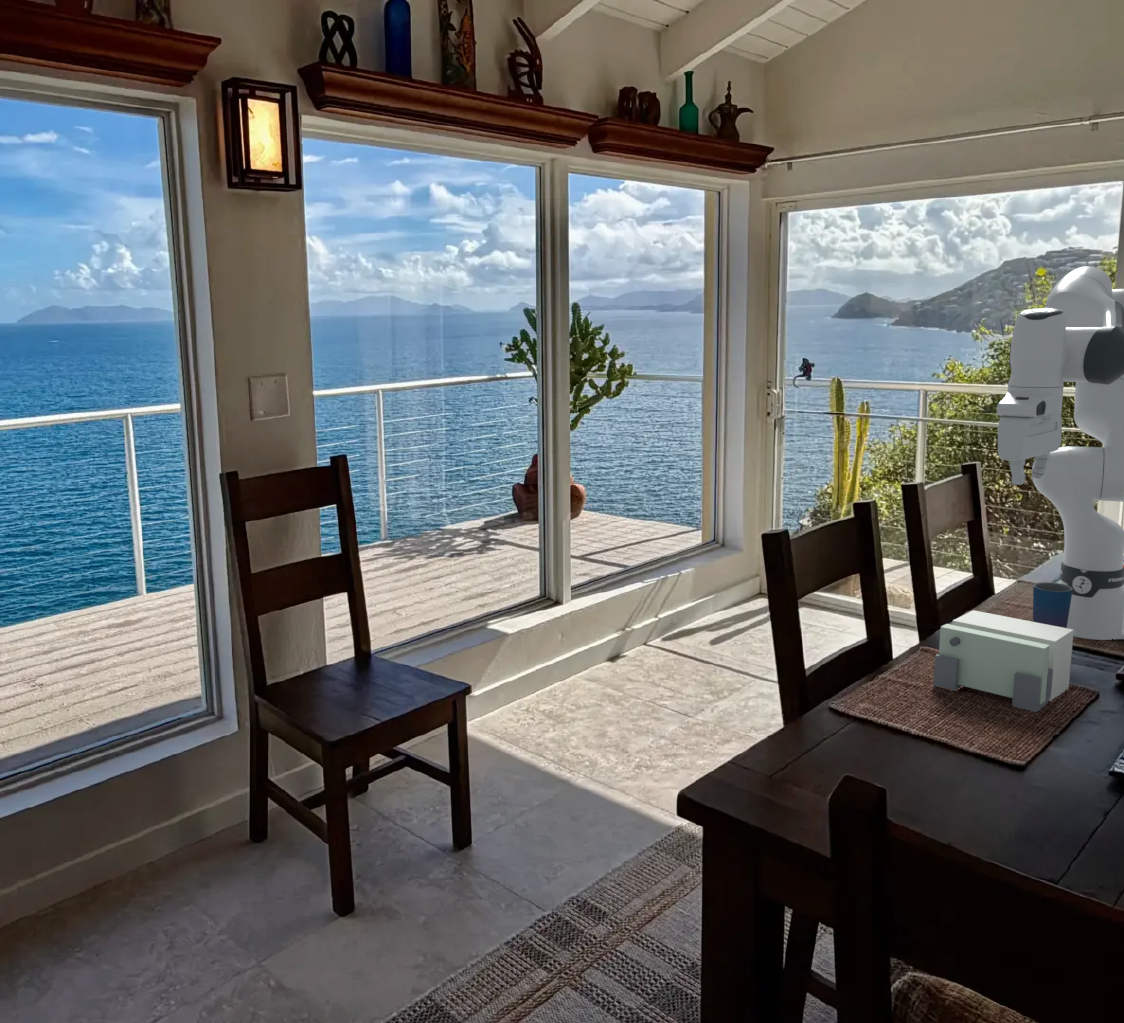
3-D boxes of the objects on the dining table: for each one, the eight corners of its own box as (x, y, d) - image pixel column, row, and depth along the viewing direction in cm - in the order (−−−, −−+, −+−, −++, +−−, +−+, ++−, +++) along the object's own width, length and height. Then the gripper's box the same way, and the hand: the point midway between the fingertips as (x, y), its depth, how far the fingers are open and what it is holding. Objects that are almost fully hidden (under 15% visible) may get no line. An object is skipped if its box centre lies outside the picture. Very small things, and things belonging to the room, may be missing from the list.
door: (943, 676, 186) (946, 623, 185) (1045, 700, 174) (1050, 645, 172) (934, 681, 184) (937, 628, 182) (1037, 706, 171) (1041, 650, 170)
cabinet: (969, 665, 195) (973, 610, 193) (1068, 688, 182) (1073, 629, 180) (933, 686, 184) (936, 628, 182) (1036, 712, 172) (1041, 650, 169)
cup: (1058, 656, 199) (1064, 582, 196) (1071, 668, 193) (1078, 591, 190) (1022, 655, 200) (1028, 582, 197) (1034, 667, 193) (1040, 591, 190)
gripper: (1037, 398, 187) (1032, 472, 190) (992, 405, 173) (987, 486, 175) (1074, 399, 183) (1067, 475, 185) (1031, 407, 168) (1025, 490, 171)
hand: (1028, 480), depth 180 cm, fingers open, 8 cm apart
